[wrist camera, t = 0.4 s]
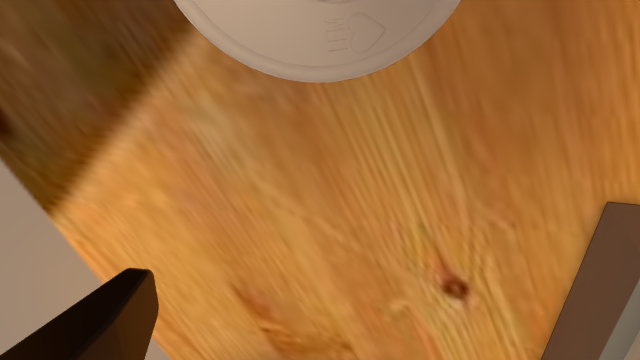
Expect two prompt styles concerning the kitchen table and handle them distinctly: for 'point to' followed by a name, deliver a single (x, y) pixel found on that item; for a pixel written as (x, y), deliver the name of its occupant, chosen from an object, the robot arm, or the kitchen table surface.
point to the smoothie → (317, 33)
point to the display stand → (603, 293)
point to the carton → (634, 349)
